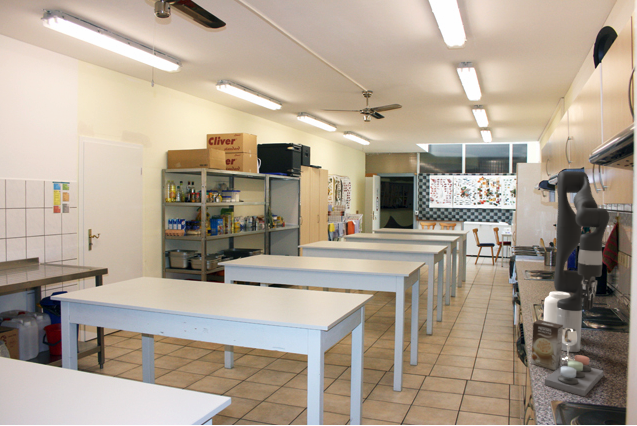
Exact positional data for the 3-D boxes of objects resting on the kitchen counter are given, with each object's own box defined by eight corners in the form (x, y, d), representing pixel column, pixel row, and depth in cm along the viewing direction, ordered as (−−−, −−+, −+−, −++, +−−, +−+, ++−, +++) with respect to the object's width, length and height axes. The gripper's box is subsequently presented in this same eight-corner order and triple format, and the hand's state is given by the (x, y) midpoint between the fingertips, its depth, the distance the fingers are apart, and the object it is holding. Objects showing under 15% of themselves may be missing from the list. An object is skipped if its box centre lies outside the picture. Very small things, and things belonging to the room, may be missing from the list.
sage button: (569, 365, 160) (570, 359, 160) (584, 368, 157) (584, 363, 157) (565, 368, 157) (566, 362, 157) (580, 372, 154) (580, 366, 154)
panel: (566, 366, 170) (566, 359, 170) (603, 376, 162) (603, 368, 161) (544, 384, 153) (544, 376, 153) (584, 396, 144) (584, 387, 144)
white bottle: (573, 340, 201) (575, 296, 200) (542, 336, 207) (544, 293, 206) (573, 333, 212) (574, 291, 211) (543, 329, 218) (545, 288, 217)
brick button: (576, 359, 166) (576, 354, 166) (590, 362, 163) (590, 357, 163) (572, 362, 163) (572, 357, 163) (587, 366, 159) (587, 360, 159)
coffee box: (530, 363, 172) (531, 322, 172) (536, 359, 177) (538, 319, 176) (555, 370, 166) (557, 327, 165) (561, 366, 170) (563, 324, 170)
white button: (562, 370, 155) (563, 365, 154) (577, 374, 151) (578, 369, 151) (558, 374, 151) (558, 368, 151) (573, 378, 148) (574, 372, 148)
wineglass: (578, 362, 174) (579, 332, 174) (562, 361, 175) (563, 331, 175) (573, 357, 180) (574, 327, 179) (557, 356, 181) (558, 326, 181)
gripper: (583, 259, 172) (581, 304, 173) (572, 262, 162) (570, 310, 163) (606, 261, 167) (604, 307, 168) (596, 265, 157) (594, 314, 158)
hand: (587, 308), depth 165 cm, fingers open, 3 cm apart
